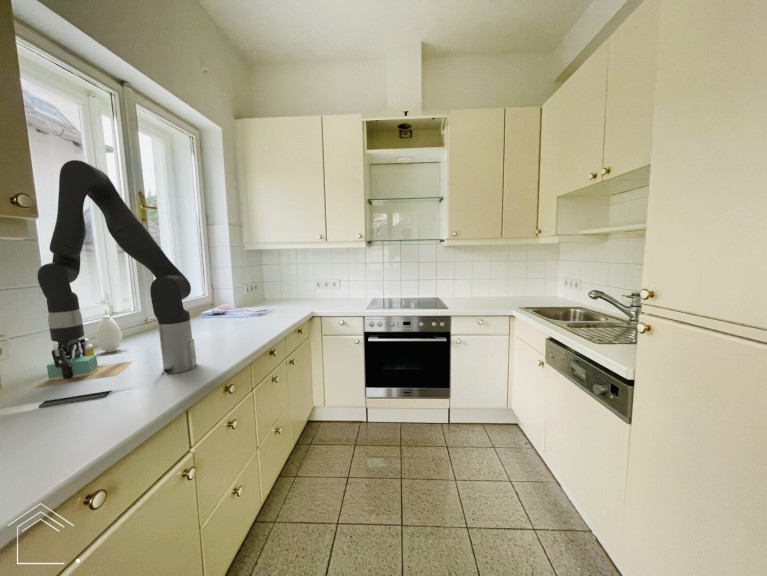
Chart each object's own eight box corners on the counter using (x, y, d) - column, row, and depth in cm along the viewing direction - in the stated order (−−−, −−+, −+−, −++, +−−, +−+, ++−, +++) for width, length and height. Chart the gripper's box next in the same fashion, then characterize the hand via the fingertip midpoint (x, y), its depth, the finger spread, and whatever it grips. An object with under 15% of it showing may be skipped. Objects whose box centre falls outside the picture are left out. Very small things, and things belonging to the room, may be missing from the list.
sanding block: (98, 369, 104) (96, 355, 103) (89, 375, 99) (87, 360, 98) (59, 374, 100) (57, 359, 100) (48, 380, 95) (46, 365, 95)
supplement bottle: (98, 363, 114) (94, 338, 112) (79, 369, 109) (75, 342, 107) (91, 361, 116) (87, 337, 115) (72, 367, 111) (68, 341, 110)
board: (133, 365, 111) (133, 361, 111) (117, 379, 98) (116, 375, 98) (61, 374, 104) (61, 370, 104) (34, 392, 91) (33, 387, 91)
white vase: (108, 349, 131) (102, 308, 129) (128, 348, 132) (122, 307, 130) (93, 355, 123) (87, 312, 121) (114, 354, 124) (108, 311, 122)
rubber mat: (119, 383, 96) (119, 381, 95) (105, 397, 86) (104, 394, 86) (61, 392, 90) (60, 389, 90) (39, 408, 81) (38, 405, 81)
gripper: (68, 328, 92) (76, 380, 94) (92, 318, 105) (98, 365, 108) (35, 331, 89) (44, 385, 92) (64, 320, 103) (71, 368, 105)
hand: (73, 374), depth 100 cm, fingers closed on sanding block, 5 cm apart
